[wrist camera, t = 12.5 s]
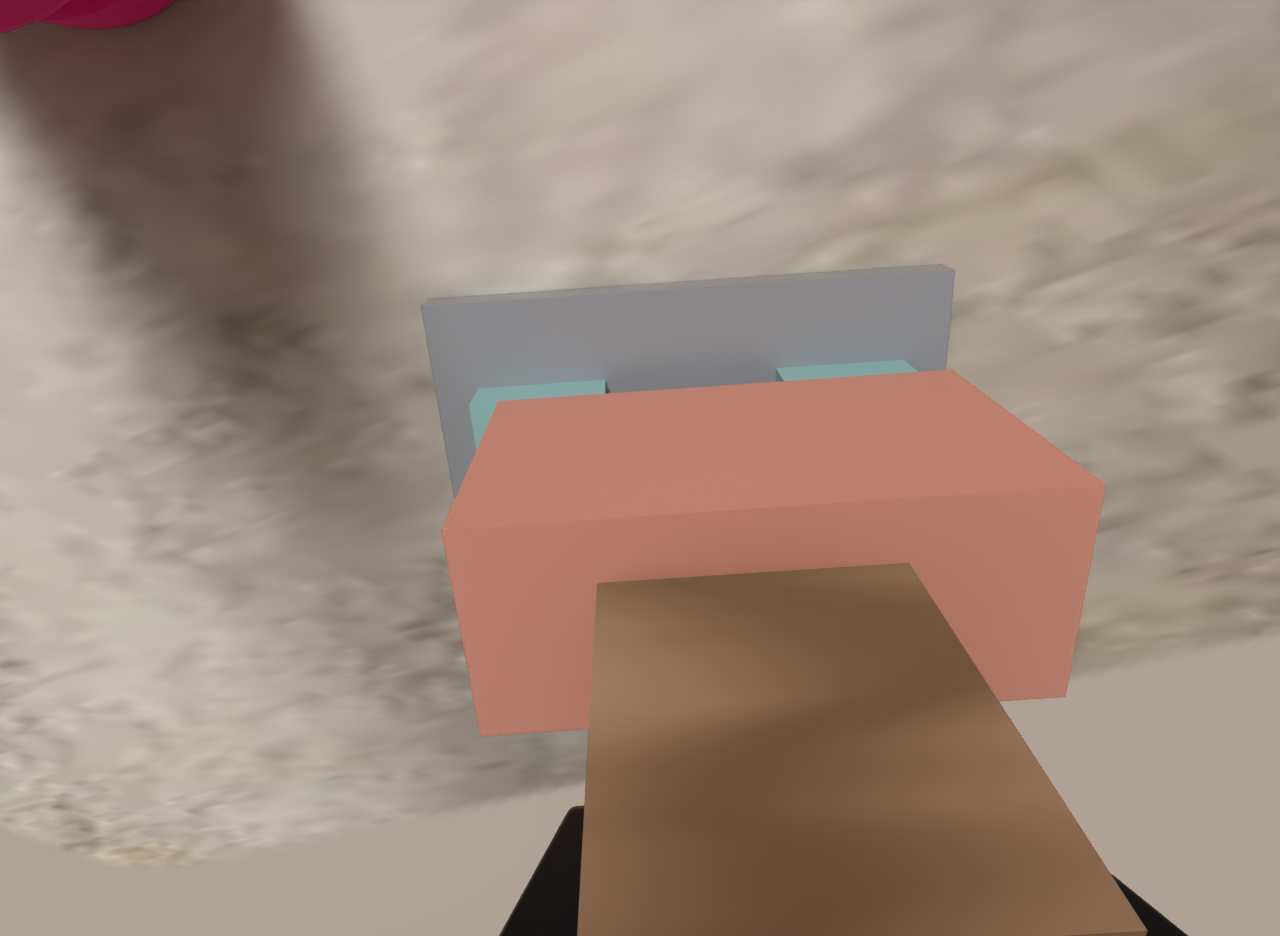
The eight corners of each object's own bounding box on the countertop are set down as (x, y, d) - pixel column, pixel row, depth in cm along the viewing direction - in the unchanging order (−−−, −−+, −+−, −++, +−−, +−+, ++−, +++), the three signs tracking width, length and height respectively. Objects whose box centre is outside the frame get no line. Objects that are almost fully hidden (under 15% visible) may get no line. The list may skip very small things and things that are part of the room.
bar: (952, 369, 17) (1105, 484, 12) (936, 530, 19) (1064, 696, 13) (498, 400, 17) (441, 529, 12) (521, 558, 19) (480, 736, 13)
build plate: (941, 264, 18) (977, 280, 17) (914, 561, 22) (942, 602, 20) (428, 298, 18) (407, 318, 17) (478, 590, 22) (465, 633, 20)
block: (909, 562, 10) (1147, 929, 5) (888, 795, 12) (1059, 1229, 7) (597, 583, 10) (575, 965, 6) (619, 812, 12) (617, 1255, 7)
